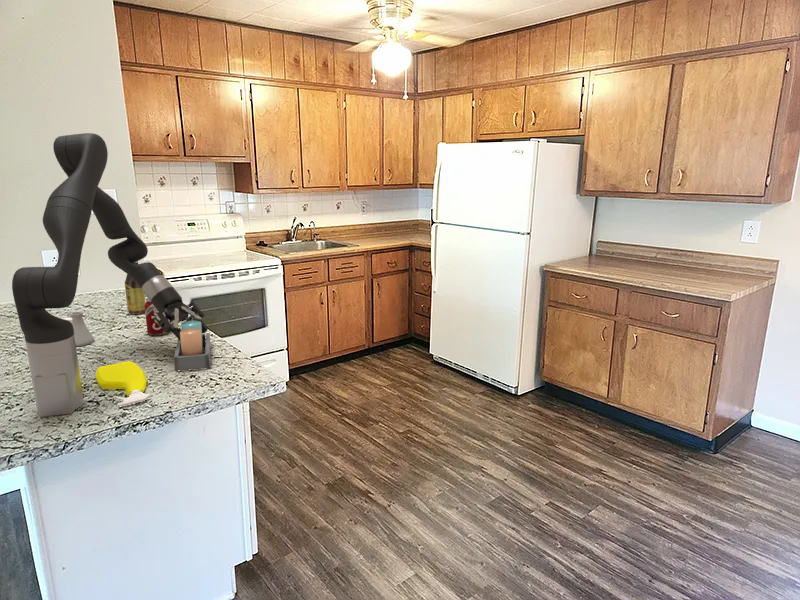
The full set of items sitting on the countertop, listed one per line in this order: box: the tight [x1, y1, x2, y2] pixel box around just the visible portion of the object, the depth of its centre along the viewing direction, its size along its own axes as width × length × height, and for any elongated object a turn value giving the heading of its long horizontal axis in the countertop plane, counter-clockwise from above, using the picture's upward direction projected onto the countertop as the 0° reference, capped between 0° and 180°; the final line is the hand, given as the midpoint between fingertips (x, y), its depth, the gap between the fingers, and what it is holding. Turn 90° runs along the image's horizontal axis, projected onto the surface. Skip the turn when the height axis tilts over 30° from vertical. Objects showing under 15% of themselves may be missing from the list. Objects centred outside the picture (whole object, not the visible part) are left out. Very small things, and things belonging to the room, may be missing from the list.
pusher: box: [202, 333, 206, 348], centre depth 162 cm, size 5×6×4 cm
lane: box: [173, 332, 212, 372], centre depth 153 cm, size 20×9×4 cm, turn 19°
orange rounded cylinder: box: [180, 328, 204, 356], centre depth 147 cm, size 6×6×10 cm
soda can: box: [144, 298, 169, 337], centre depth 172 cm, size 7×7×12 cm
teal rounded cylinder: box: [180, 320, 205, 354], centre depth 154 cm, size 6×6×10 cm
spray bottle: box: [94, 360, 152, 408], centre depth 132 cm, size 3×11×24 cm
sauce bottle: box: [124, 261, 146, 315], centre depth 193 cm, size 6×6×20 cm
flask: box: [70, 311, 96, 347], centre depth 162 cm, size 7×7×10 cm
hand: (195, 335), depth 153 cm, fingers open, 8 cm apart
